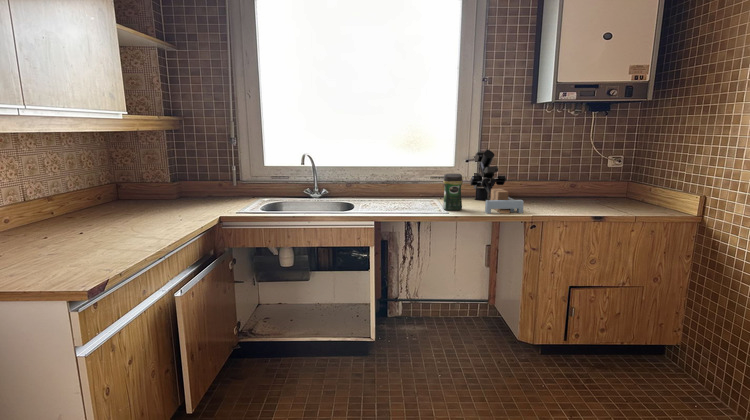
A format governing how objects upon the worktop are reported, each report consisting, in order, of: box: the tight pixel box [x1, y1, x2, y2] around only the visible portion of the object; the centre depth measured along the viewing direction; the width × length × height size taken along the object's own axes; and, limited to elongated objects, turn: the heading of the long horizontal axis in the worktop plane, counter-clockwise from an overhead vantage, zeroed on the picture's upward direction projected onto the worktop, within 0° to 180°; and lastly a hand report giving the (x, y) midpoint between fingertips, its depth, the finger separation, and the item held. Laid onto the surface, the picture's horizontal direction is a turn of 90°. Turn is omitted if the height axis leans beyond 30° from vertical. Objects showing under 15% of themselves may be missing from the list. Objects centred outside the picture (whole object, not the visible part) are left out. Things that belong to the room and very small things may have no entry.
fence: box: [484, 196, 525, 214], centre depth 221 cm, size 12×18×6 cm, turn 93°
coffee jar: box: [442, 173, 463, 212], centre depth 224 cm, size 10×8×19 cm
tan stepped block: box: [489, 187, 511, 214], centre depth 222 cm, size 16×5×10 cm, turn 3°
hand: (490, 192), depth 238 cm, fingers closed
